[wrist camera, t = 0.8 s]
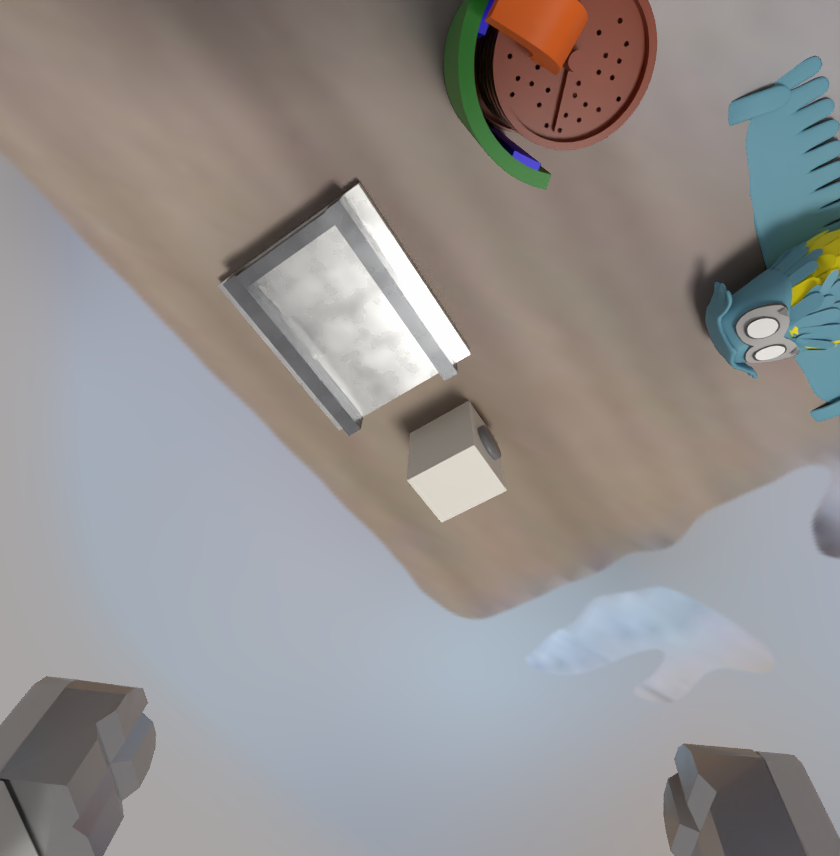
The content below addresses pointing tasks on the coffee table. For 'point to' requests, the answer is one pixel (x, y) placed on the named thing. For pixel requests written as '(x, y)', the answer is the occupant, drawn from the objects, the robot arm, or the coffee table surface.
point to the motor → (547, 73)
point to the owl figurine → (789, 239)
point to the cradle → (347, 311)
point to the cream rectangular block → (455, 462)
